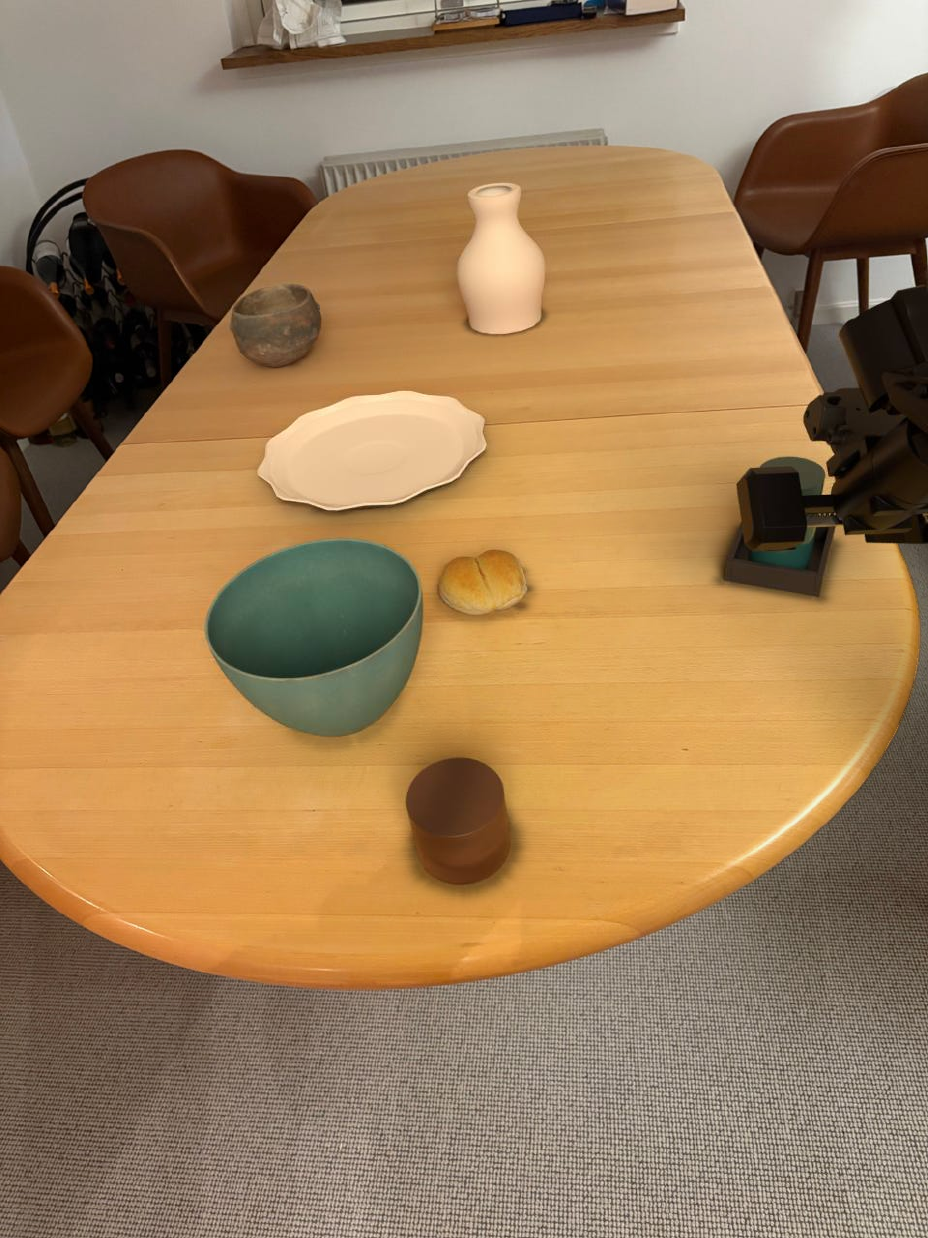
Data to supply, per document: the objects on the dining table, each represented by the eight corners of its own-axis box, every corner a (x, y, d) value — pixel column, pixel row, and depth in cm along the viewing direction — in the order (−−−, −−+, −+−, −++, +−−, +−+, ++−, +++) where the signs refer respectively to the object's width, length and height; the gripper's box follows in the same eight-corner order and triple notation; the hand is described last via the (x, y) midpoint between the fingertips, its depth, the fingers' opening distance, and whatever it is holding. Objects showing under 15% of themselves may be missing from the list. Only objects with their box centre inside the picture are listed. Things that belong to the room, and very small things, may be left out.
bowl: (332, 335, 149) (319, 275, 142) (324, 374, 137) (309, 311, 131) (251, 345, 150) (234, 286, 143) (236, 385, 138) (217, 323, 131)
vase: (449, 334, 143) (431, 204, 130) (481, 300, 153) (468, 176, 140) (531, 339, 138) (522, 204, 125) (559, 303, 148) (553, 174, 135)
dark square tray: (832, 543, 91) (836, 523, 89) (819, 597, 85) (823, 576, 83) (742, 530, 94) (744, 511, 92) (724, 580, 88) (725, 560, 86)
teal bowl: (459, 752, 75) (439, 646, 67) (247, 804, 73) (201, 701, 65) (422, 621, 89) (402, 520, 81) (243, 662, 87) (205, 563, 79)
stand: (524, 821, 69) (518, 771, 65) (487, 897, 64) (479, 849, 60) (442, 796, 72) (432, 747, 68) (401, 868, 67) (388, 819, 63)
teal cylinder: (817, 574, 86) (833, 487, 80) (754, 578, 87) (765, 492, 81) (802, 538, 91) (816, 453, 84) (743, 542, 92) (752, 458, 85)
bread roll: (435, 578, 94) (430, 547, 91) (517, 562, 94) (514, 531, 92) (446, 626, 88) (441, 595, 85) (534, 609, 88) (531, 577, 86)
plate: (532, 464, 109) (530, 447, 108) (318, 554, 100) (313, 537, 98) (419, 386, 130) (417, 371, 128) (233, 456, 120) (228, 440, 119)
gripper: (1015, 358, 64) (902, 449, 79) (765, 367, 63) (698, 458, 78) (1049, 501, 61) (925, 568, 77) (788, 513, 60) (715, 578, 76)
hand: (815, 539), depth 77 cm, fingers open, 9 cm apart
